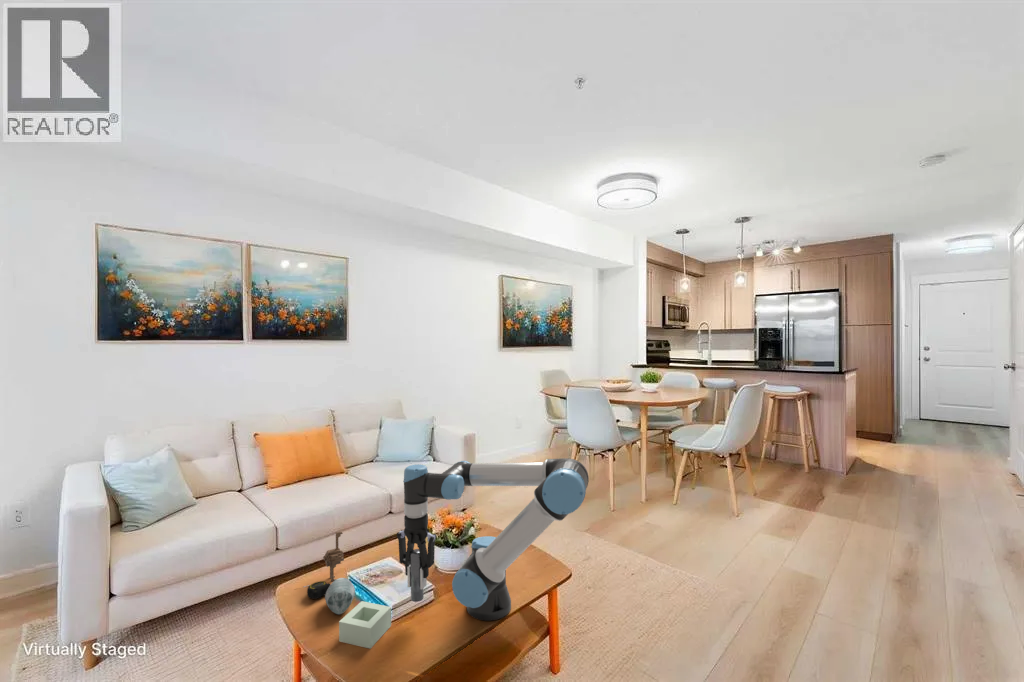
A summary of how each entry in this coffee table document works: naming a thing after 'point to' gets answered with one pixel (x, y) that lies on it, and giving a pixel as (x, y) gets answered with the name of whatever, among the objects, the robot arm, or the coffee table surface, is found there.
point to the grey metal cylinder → (415, 576)
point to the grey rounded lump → (340, 595)
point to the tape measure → (317, 589)
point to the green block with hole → (365, 624)
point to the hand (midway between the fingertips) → (417, 585)
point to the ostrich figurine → (333, 557)
